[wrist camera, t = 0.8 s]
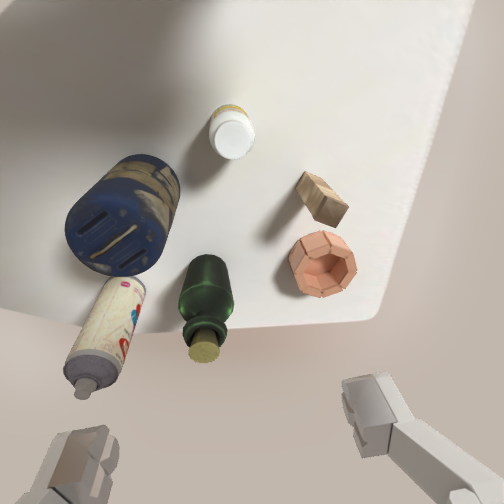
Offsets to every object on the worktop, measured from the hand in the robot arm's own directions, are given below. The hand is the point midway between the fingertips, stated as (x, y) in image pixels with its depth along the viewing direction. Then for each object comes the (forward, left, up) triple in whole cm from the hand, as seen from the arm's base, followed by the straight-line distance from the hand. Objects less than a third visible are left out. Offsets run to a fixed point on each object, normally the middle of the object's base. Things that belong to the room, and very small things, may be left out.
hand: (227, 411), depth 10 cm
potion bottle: (+19, +5, -38) cm, 43 cm away
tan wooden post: (-1, +14, -38) cm, 40 cm away
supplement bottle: (-4, 0, -38) cm, 38 cm away
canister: (+8, -8, -38) cm, 39 cm away
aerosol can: (+28, -7, -38) cm, 48 cm away
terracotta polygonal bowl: (+10, +22, -38) cm, 45 cm away
